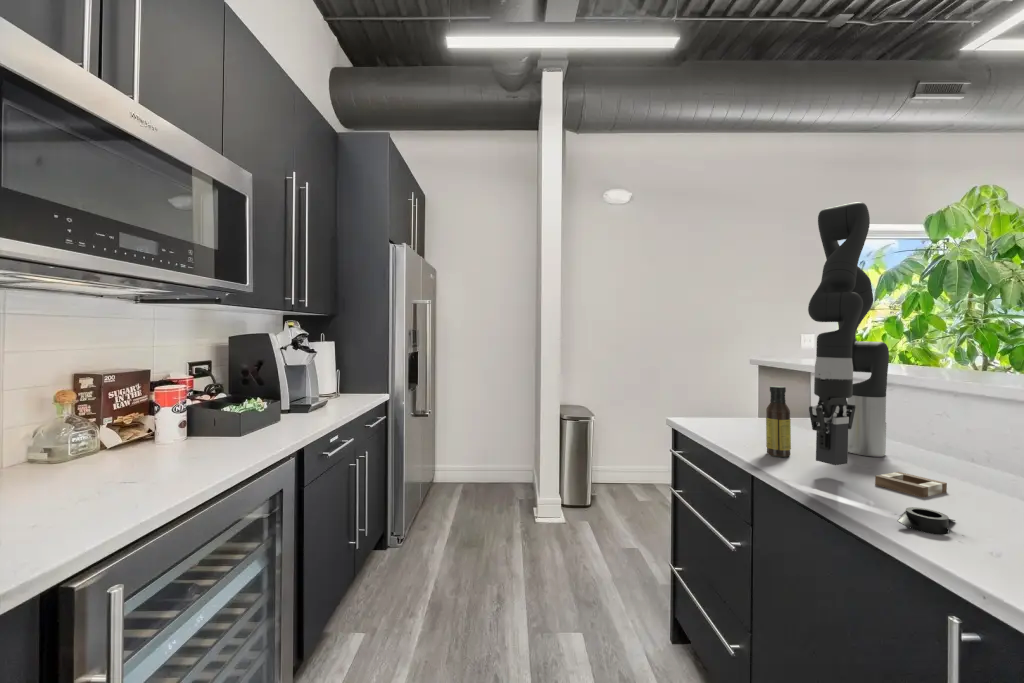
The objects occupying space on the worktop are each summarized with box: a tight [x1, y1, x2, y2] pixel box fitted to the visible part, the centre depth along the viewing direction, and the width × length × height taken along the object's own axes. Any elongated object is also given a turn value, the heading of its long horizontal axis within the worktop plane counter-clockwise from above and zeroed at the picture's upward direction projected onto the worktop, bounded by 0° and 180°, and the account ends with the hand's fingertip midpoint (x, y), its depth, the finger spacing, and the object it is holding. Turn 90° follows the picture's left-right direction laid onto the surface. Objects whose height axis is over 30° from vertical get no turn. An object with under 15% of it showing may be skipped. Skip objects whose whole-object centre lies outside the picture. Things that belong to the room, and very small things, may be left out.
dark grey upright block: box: [815, 416, 849, 466], centre depth 111 cm, size 5×5×11 cm
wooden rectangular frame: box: [874, 471, 948, 498], centre depth 104 cm, size 9×9×3 cm
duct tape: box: [896, 506, 956, 536], centre depth 84 cm, size 8×10×3 cm
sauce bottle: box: [765, 385, 792, 458], centre depth 136 cm, size 6×6×20 cm
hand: (831, 448), depth 111 cm, fingers closed on dark grey upright block, 4 cm apart
